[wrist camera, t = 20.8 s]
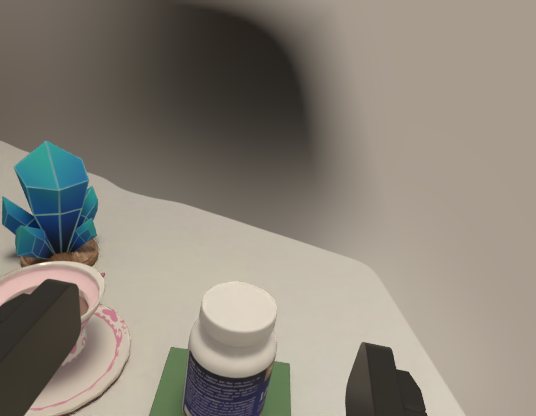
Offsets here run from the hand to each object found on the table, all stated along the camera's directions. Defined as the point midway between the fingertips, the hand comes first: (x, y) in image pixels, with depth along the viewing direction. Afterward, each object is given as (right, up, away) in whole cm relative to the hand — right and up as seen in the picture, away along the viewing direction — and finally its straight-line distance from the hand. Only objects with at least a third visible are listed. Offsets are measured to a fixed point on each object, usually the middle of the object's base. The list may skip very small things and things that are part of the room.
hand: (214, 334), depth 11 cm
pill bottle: (-2, -11, +18) cm, 21 cm away
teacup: (-16, -8, +20) cm, 27 cm away
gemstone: (-20, -2, +31) cm, 37 cm away
